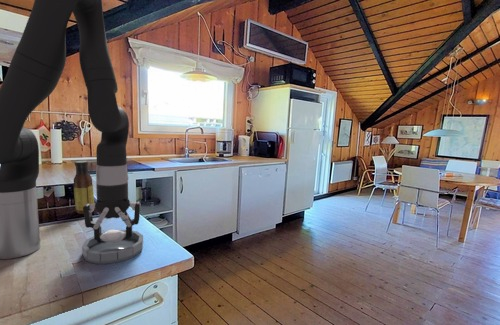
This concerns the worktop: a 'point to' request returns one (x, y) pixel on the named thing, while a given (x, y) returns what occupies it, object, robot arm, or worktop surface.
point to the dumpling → (113, 236)
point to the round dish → (112, 249)
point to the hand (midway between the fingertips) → (114, 239)
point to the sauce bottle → (82, 186)
